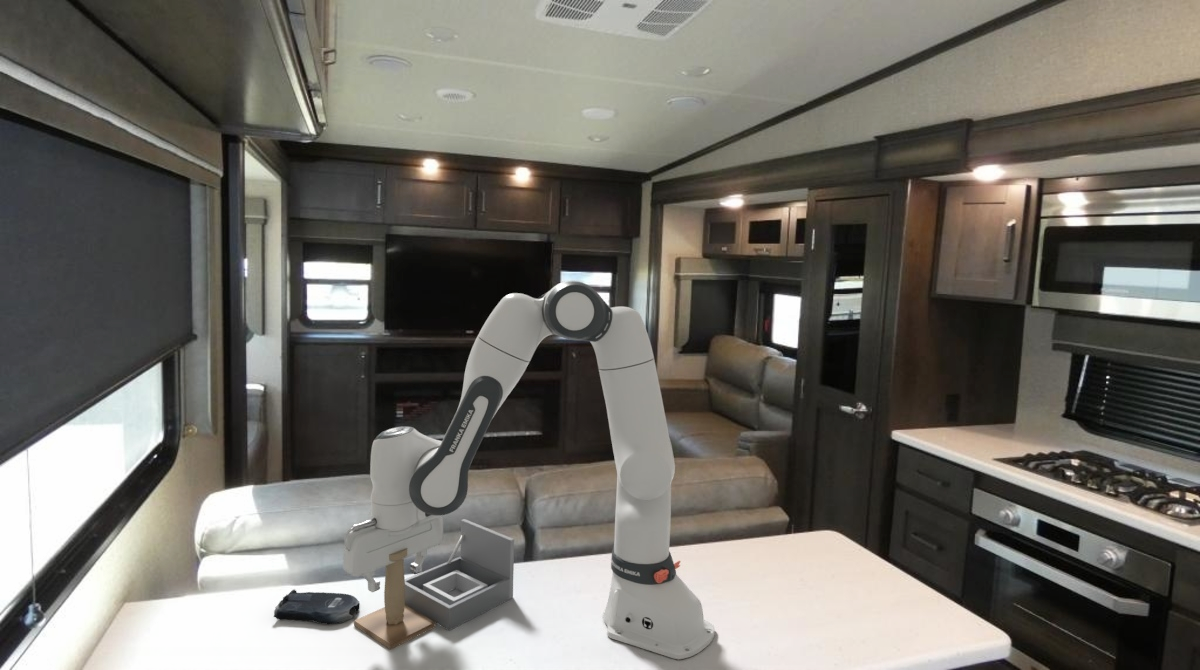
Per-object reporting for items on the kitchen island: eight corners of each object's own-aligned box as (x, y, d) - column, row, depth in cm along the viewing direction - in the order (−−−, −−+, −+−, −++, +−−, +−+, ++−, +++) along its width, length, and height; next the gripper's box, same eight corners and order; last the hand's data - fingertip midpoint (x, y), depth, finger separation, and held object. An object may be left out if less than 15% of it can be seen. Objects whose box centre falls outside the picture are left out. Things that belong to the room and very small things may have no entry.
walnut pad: (435, 626, 128) (435, 622, 128) (390, 649, 121) (390, 644, 120) (398, 605, 136) (398, 600, 136) (354, 625, 128) (354, 620, 128)
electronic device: (272, 633, 127) (348, 626, 127) (269, 604, 128) (346, 597, 127) (296, 614, 137) (367, 607, 136) (293, 587, 137) (364, 580, 137)
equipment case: (512, 597, 141) (514, 539, 139) (449, 630, 127) (449, 566, 126) (463, 573, 150) (464, 518, 149) (399, 602, 137) (399, 542, 136)
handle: (377, 630, 125) (377, 554, 123) (386, 612, 131) (386, 540, 130) (403, 630, 125) (403, 554, 123) (411, 612, 131) (411, 540, 130)
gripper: (354, 533, 116) (355, 607, 117) (448, 501, 132) (448, 568, 133) (335, 523, 119) (336, 596, 121) (428, 494, 135) (428, 558, 137)
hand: (395, 581), depth 127 cm, fingers open, 8 cm apart
